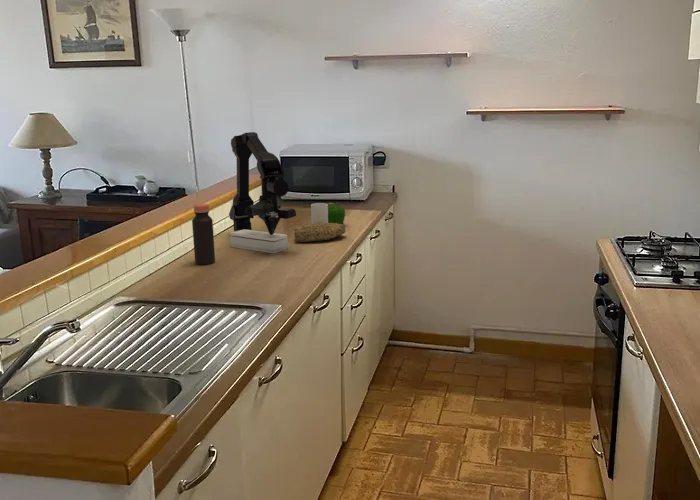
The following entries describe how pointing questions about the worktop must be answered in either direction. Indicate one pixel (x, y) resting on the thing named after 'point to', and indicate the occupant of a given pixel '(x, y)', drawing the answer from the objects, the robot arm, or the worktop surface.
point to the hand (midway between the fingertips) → (271, 234)
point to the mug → (319, 213)
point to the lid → (258, 235)
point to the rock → (318, 232)
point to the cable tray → (259, 244)
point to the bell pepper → (336, 214)
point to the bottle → (203, 235)
